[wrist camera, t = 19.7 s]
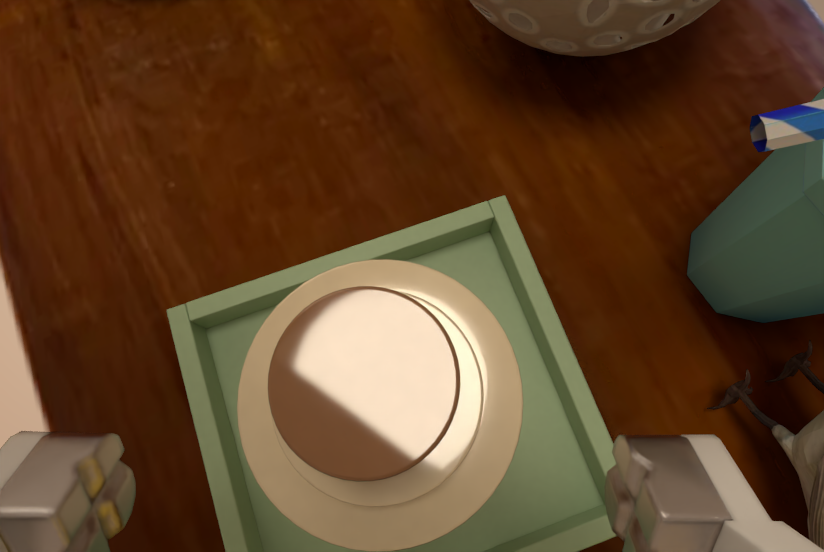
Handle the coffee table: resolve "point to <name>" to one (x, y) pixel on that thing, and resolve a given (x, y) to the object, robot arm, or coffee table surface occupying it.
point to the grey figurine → (796, 442)
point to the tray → (539, 368)
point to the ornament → (590, 22)
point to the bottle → (380, 405)
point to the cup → (769, 225)
